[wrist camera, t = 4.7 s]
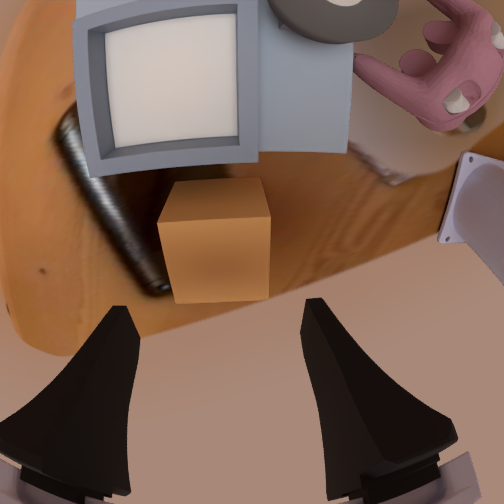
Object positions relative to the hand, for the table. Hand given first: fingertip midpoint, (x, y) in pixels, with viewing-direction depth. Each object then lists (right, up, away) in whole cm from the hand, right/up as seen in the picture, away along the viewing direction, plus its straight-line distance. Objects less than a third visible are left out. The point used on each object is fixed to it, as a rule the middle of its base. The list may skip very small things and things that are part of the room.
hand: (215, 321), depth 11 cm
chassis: (-1, +13, +1) cm, 13 cm away
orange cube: (-1, +5, +7) cm, 8 cm away
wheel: (+4, +14, -2) cm, 15 cm away
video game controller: (+11, +15, +1) cm, 19 cm away
